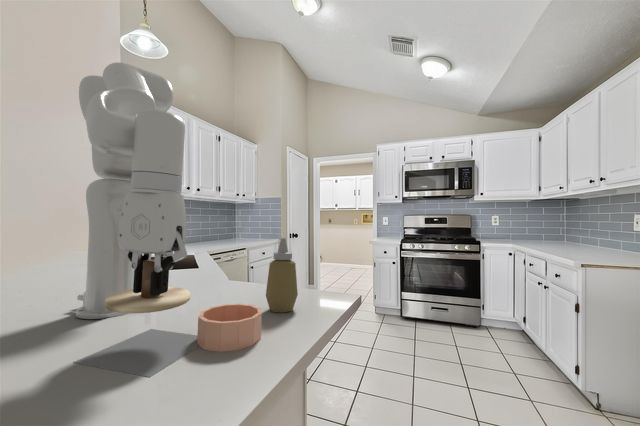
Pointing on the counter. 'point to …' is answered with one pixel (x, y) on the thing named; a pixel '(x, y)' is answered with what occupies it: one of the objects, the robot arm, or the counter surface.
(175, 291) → the lid
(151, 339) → the mat
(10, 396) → the counter surface
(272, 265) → the squeeze bottle
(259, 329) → the bowl
